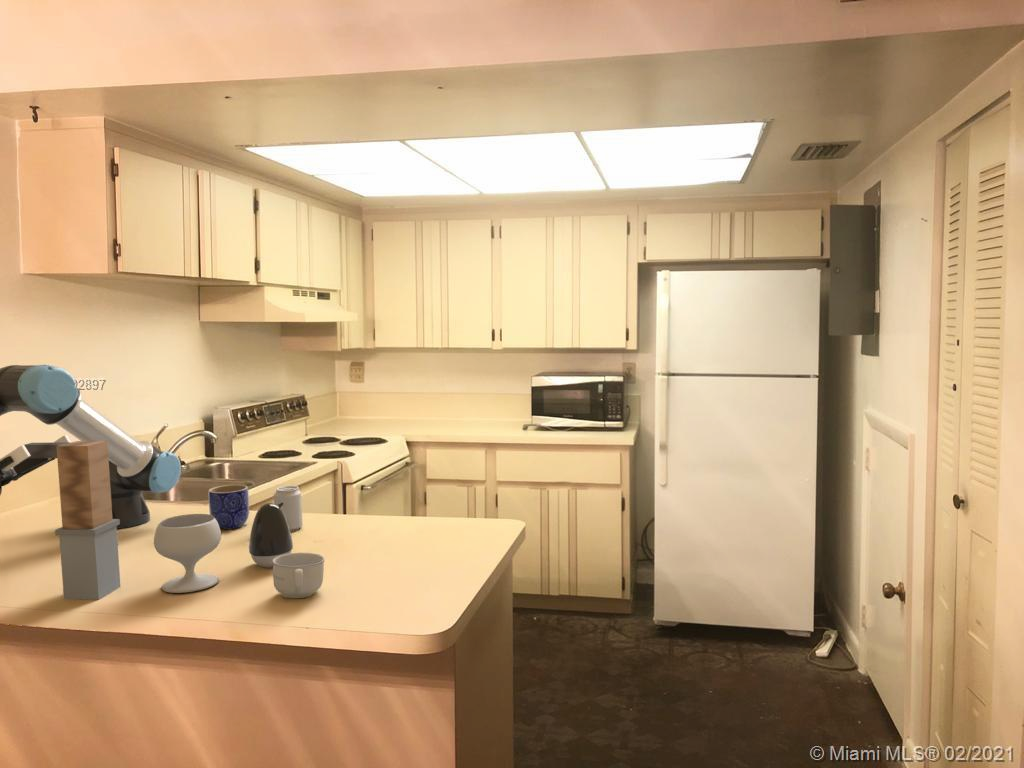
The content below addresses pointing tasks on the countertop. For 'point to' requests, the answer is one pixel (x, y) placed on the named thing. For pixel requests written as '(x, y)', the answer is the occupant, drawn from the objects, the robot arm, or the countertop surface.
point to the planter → (229, 505)
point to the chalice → (188, 548)
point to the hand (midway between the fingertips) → (48, 444)
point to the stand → (89, 561)
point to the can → (290, 505)
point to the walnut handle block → (80, 481)
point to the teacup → (298, 574)
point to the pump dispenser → (269, 535)
